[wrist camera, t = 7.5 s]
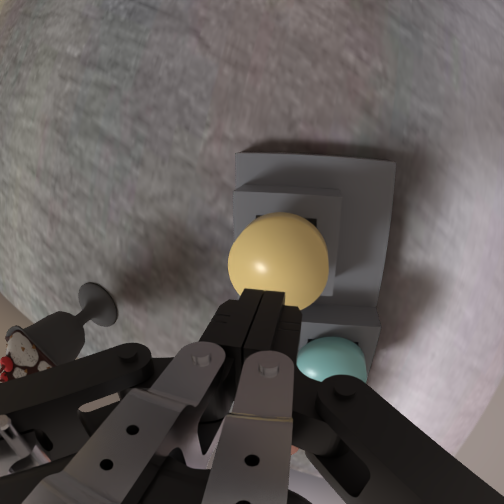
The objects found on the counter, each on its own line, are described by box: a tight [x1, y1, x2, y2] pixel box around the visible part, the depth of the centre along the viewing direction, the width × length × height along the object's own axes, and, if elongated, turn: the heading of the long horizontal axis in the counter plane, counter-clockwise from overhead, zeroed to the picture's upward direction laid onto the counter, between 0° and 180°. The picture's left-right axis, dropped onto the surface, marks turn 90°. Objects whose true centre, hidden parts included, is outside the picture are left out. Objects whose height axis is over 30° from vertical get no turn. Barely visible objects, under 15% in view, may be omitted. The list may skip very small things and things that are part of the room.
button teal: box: [297, 337, 367, 383], centre depth 20 cm, size 5×5×4 cm
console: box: [233, 152, 396, 378], centre depth 22 cm, size 26×10×4 cm, turn 0°
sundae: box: [0, 283, 117, 383], centre depth 21 cm, size 7×7×15 cm
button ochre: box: [228, 212, 329, 310], centre depth 17 cm, size 5×5×4 cm
